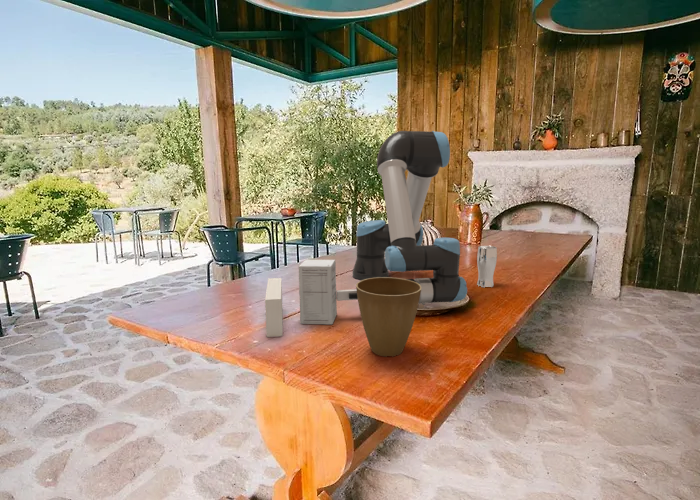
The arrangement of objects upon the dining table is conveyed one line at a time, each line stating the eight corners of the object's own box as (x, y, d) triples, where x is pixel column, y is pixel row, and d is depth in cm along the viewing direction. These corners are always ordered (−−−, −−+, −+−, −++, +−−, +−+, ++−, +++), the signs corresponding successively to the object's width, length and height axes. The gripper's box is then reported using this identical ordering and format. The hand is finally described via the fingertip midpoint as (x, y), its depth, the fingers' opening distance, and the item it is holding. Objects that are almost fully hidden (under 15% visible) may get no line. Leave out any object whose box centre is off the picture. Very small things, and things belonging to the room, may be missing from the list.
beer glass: (496, 284, 148) (498, 246, 146) (492, 289, 142) (495, 249, 140) (477, 282, 152) (480, 244, 149) (473, 286, 146) (475, 247, 143)
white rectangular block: (282, 308, 121) (281, 277, 119) (282, 336, 99) (281, 299, 98) (269, 309, 120) (268, 278, 118) (266, 337, 99) (265, 299, 97)
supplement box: (337, 314, 116) (337, 259, 113) (333, 325, 107) (332, 266, 104) (306, 313, 117) (304, 258, 114) (299, 324, 108) (297, 265, 105)
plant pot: (343, 354, 89) (343, 287, 86) (375, 333, 101) (376, 274, 98) (401, 371, 81) (403, 298, 78) (429, 346, 93) (431, 282, 90)
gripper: (422, 310, 109) (340, 315, 105) (407, 297, 122) (333, 301, 118) (423, 284, 108) (340, 289, 104) (408, 273, 121) (333, 277, 116)
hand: (336, 295), depth 111 cm, fingers closed
